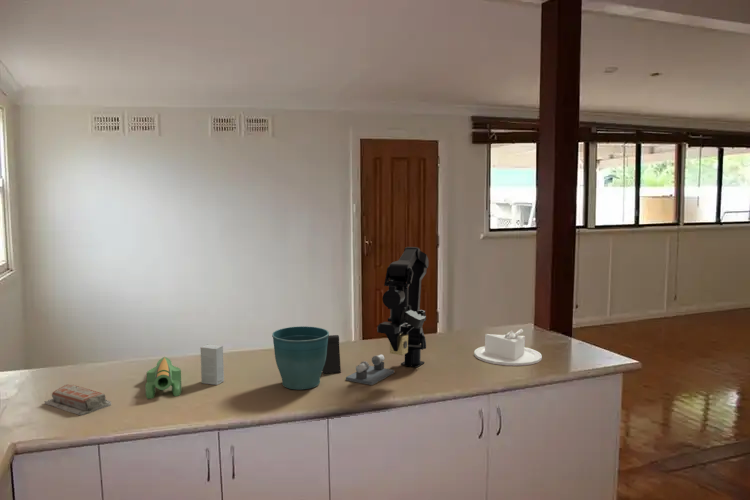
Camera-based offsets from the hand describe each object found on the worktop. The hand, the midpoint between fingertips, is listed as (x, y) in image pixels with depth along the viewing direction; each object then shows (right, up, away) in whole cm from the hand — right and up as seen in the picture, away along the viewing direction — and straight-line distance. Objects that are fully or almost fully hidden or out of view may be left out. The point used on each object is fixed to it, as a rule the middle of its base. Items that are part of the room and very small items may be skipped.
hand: (398, 349), depth 199 cm
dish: (+42, -8, +32) cm, 54 cm away
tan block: (0, -1, 0) cm, 1 cm away
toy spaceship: (-77, -11, +1) cm, 77 cm away
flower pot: (-31, -11, -1) cm, 33 cm away
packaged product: (-95, -14, -19) cm, 98 cm away
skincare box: (-61, -11, 0) cm, 61 cm away
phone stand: (-23, -10, +15) cm, 29 cm away
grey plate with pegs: (-9, -10, +7) cm, 15 cm away
